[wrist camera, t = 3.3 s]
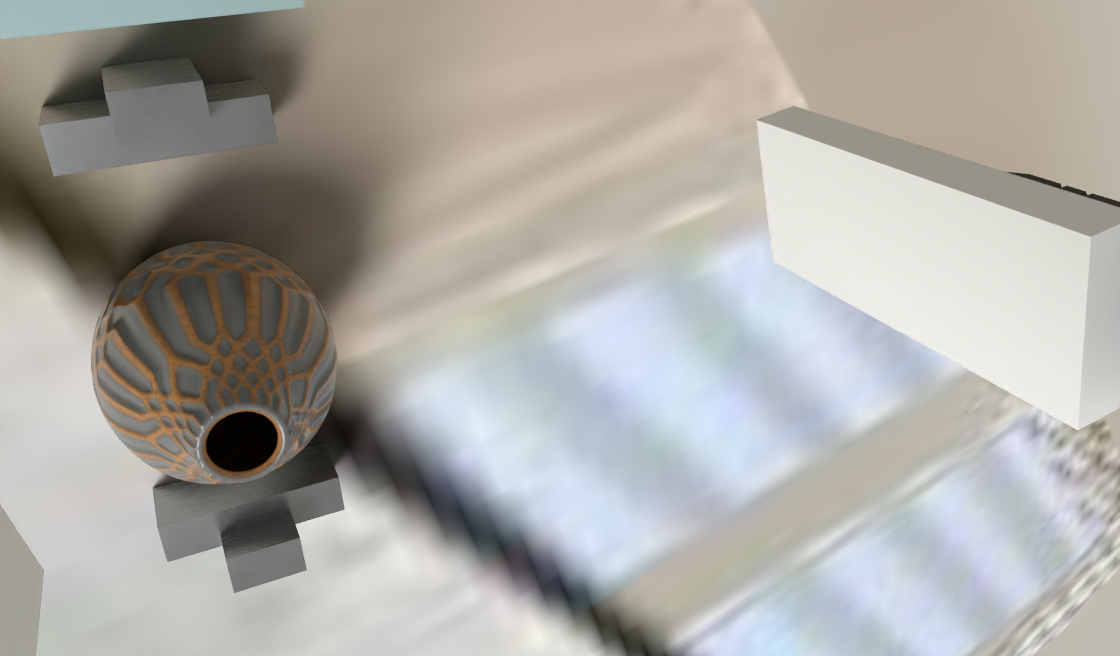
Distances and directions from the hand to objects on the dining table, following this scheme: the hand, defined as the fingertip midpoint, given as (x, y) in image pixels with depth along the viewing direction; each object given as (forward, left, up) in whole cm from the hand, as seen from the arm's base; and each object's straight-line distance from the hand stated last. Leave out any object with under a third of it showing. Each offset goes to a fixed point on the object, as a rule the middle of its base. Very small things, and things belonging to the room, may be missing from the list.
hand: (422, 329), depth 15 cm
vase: (-3, -7, -18) cm, 19 cm away
